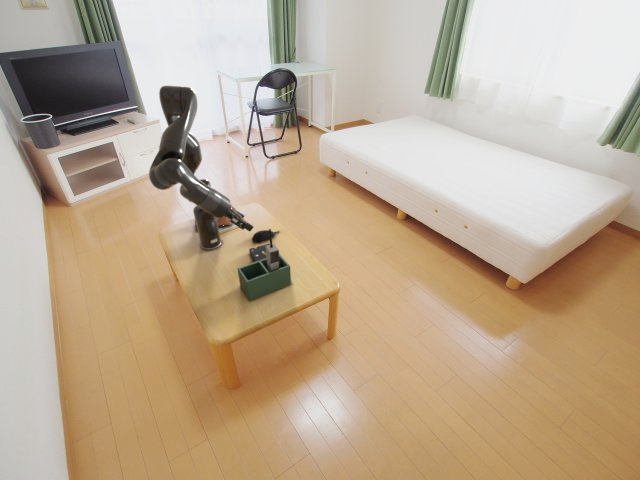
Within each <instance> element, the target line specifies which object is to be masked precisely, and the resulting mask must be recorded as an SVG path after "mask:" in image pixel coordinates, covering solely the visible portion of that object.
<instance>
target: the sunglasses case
mask: <svg viewBox="0 0 640 480" xmlns="http://www.w3.org/2000/svg"><path fill="white" fill-rule="evenodd" d="M216 218H217V217H216ZM217 223H218V228H219V229H220V228H225V227H228V226H232V225H233V223H230V220H228V219H226V218H225V216H223V217H220V218H217ZM194 225H195V229H196V232H197V233H198V229H197V225H196V221H195V220H194ZM223 225H224V226H223Z"/></svg>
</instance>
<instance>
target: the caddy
mask: <svg viewBox="0 0 640 480" xmlns="http://www.w3.org/2000/svg"><path fill="white" fill-rule="evenodd" d="M279 268H280V269H277V270H275V271H272V272H269V271H268V267H267V258H265V259H262V260H260V261H257V262H254V261H253V262H251V263H248V264H245V265H243V266H240V267H237V275H238V280H239V285H240V286H239V287H240V288H241V290H242V291H243V293H244V294H245V296H246V298H247V299H248V301H249V302H251V301H253V300H256V299H258V298H260V297H263V296H266V295H268V294H271V293H273V292H275V291H278V290H280V289H283V288H285V287H287V286H290V285H292V276H291V275H292V274H291V265H290V264H289V263H288V261H286V259H285V258H284V257H283V255H281V253H279Z"/></svg>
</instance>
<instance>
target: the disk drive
mask: <svg viewBox="0 0 640 480" xmlns="http://www.w3.org/2000/svg"><path fill="white" fill-rule="evenodd" d="M267 245H270V243H266V244H262V245H258V246H257V247H250V248H248V251H249V254H250V256H251V258H252V260H253V263H254V262H257V261H260V260H262V259H265V258H267V257H266V247H265V246H267Z"/></svg>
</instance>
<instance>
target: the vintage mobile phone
mask: <svg viewBox="0 0 640 480" xmlns="http://www.w3.org/2000/svg"><path fill="white" fill-rule="evenodd" d="M268 230H269V233H270V239H269V244H270V245H267V246H265V247H266V257H267V267H268V271H269V272H272V271H275V270H277V269H280V268H279V254H280V249H279V247H277V246H276V245H277V244H276V243H273V238H272V237H271V231H272V229H271V228H269V229H268Z"/></svg>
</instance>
